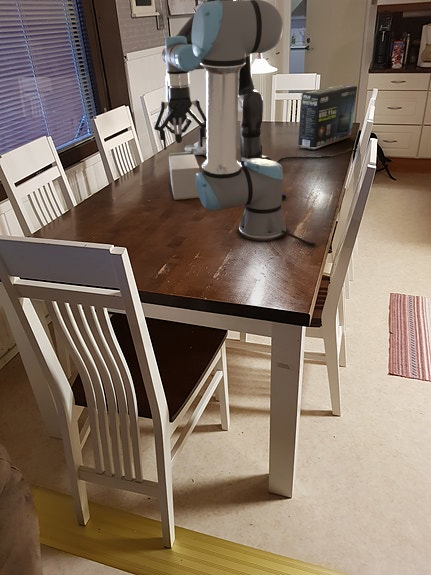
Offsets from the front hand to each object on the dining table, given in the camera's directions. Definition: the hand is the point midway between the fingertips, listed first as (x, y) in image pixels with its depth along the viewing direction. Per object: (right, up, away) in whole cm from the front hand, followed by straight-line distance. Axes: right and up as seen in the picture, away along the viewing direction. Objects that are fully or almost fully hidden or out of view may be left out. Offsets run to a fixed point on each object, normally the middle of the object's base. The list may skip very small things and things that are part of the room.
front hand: (183, 147), depth 172 cm
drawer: (-2, -6, +25) cm, 26 cm away
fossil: (+5, +17, +65) cm, 67 cm away
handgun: (+34, -14, +11) cm, 38 cm away
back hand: (-4, +10, +26) cm, 28 cm away
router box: (+71, +25, +72) cm, 104 cm away
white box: (0, -13, +15) cm, 20 cm away
